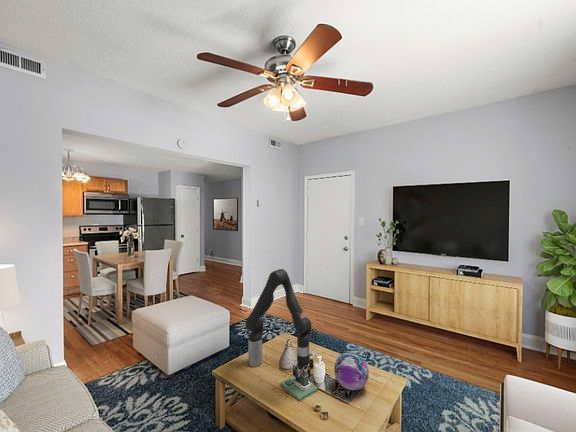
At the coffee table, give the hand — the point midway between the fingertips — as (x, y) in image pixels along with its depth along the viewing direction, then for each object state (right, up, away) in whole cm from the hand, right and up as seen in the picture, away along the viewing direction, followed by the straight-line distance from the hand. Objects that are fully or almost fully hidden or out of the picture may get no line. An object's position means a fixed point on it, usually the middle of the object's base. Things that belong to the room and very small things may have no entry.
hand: (303, 379), depth 161 cm
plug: (0, -4, 0) cm, 4 cm away
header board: (-3, -5, 0) cm, 6 cm away
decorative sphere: (+29, -5, +1) cm, 29 cm away
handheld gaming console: (+3, -5, +33) cm, 34 cm away
